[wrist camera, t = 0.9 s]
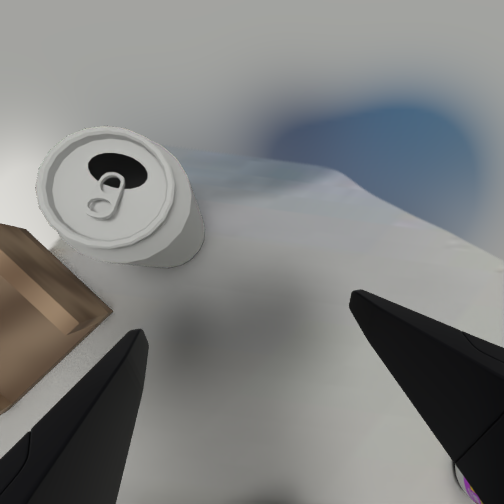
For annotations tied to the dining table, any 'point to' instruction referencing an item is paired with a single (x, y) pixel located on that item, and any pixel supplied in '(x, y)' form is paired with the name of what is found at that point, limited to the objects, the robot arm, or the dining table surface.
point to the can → (120, 199)
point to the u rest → (38, 313)
